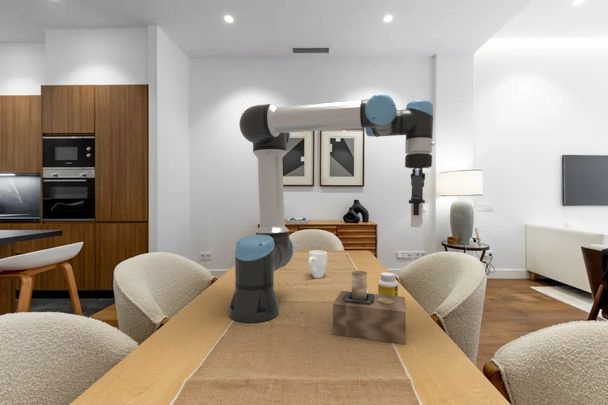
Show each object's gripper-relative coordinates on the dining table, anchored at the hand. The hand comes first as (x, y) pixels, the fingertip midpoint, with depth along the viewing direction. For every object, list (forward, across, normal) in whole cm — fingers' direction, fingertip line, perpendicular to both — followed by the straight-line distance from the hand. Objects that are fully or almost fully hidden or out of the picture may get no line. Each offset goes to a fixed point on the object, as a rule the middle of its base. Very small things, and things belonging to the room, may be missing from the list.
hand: (416, 225), depth 93 cm
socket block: (+28, -14, +11) cm, 33 cm away
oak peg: (+21, -15, +14) cm, 29 cm away
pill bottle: (+28, +5, +8) cm, 30 cm away
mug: (+28, +31, +43) cm, 60 cm away
